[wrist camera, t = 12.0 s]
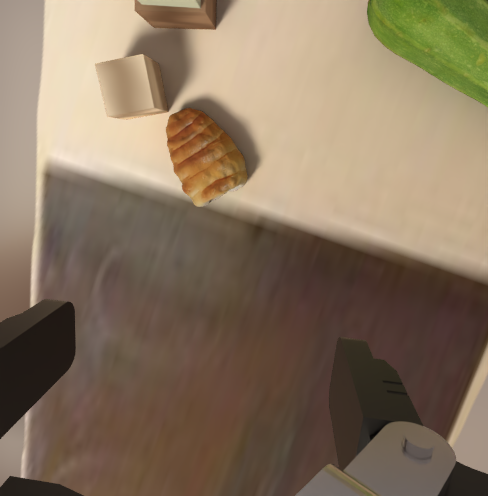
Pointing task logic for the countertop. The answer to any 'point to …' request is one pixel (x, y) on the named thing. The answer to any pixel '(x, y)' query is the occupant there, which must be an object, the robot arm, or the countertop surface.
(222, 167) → the pastry
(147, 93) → the birch block
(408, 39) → the vegetable
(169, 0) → the sage cube
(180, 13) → the walnut block
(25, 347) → the robot arm
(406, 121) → the countertop surface
